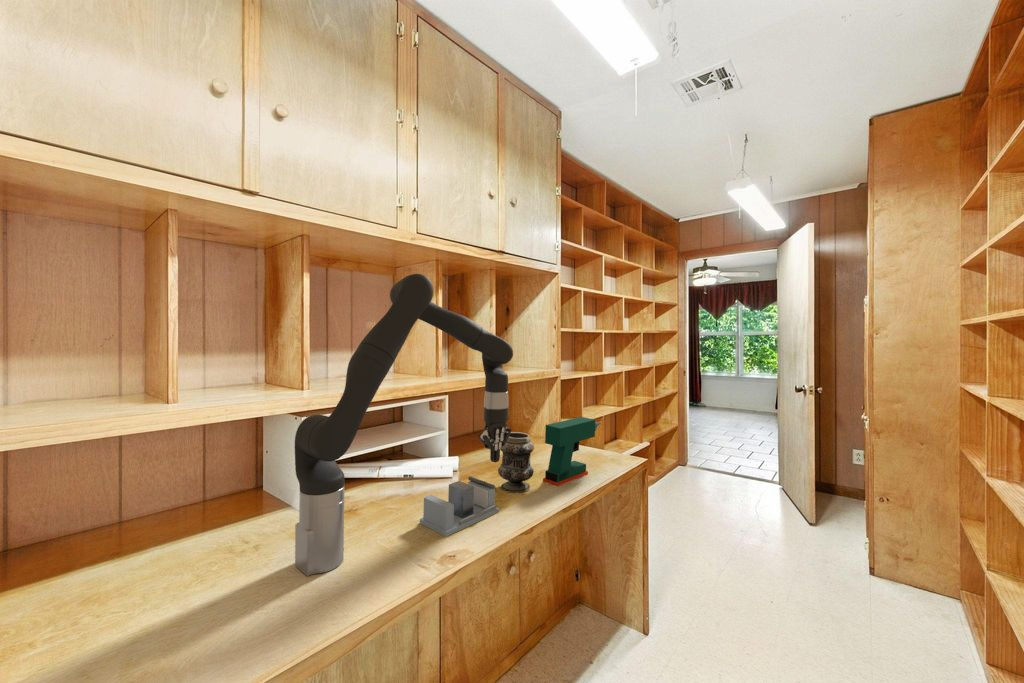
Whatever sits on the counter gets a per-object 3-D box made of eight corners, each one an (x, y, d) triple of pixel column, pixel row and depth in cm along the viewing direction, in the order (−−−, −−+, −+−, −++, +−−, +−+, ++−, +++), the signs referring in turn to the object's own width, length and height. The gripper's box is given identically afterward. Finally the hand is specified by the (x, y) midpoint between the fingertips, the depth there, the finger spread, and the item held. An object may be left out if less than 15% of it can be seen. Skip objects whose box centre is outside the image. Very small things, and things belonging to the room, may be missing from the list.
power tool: (592, 461, 174) (594, 413, 173) (607, 466, 169) (609, 416, 168) (541, 480, 151) (543, 424, 150) (557, 486, 146) (559, 428, 145)
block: (462, 518, 117) (463, 490, 117) (448, 512, 121) (448, 484, 121) (473, 514, 120) (473, 486, 120) (458, 507, 124) (459, 480, 124)
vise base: (446, 536, 109) (447, 509, 109) (419, 523, 116) (420, 497, 116) (498, 511, 125) (499, 487, 124) (472, 501, 132) (472, 478, 132)
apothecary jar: (539, 485, 146) (540, 433, 145) (522, 497, 136) (524, 441, 135) (509, 478, 152) (510, 428, 151) (490, 489, 142) (492, 435, 141)
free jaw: (489, 511, 122) (489, 486, 122) (465, 501, 129) (465, 477, 128) (496, 507, 125) (496, 483, 124) (472, 498, 131) (472, 475, 131)
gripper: (501, 401, 138) (500, 454, 138) (472, 406, 128) (470, 463, 128) (519, 404, 133) (517, 459, 134) (490, 410, 123) (489, 469, 123)
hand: (494, 461), depth 131 cm, fingers closed
